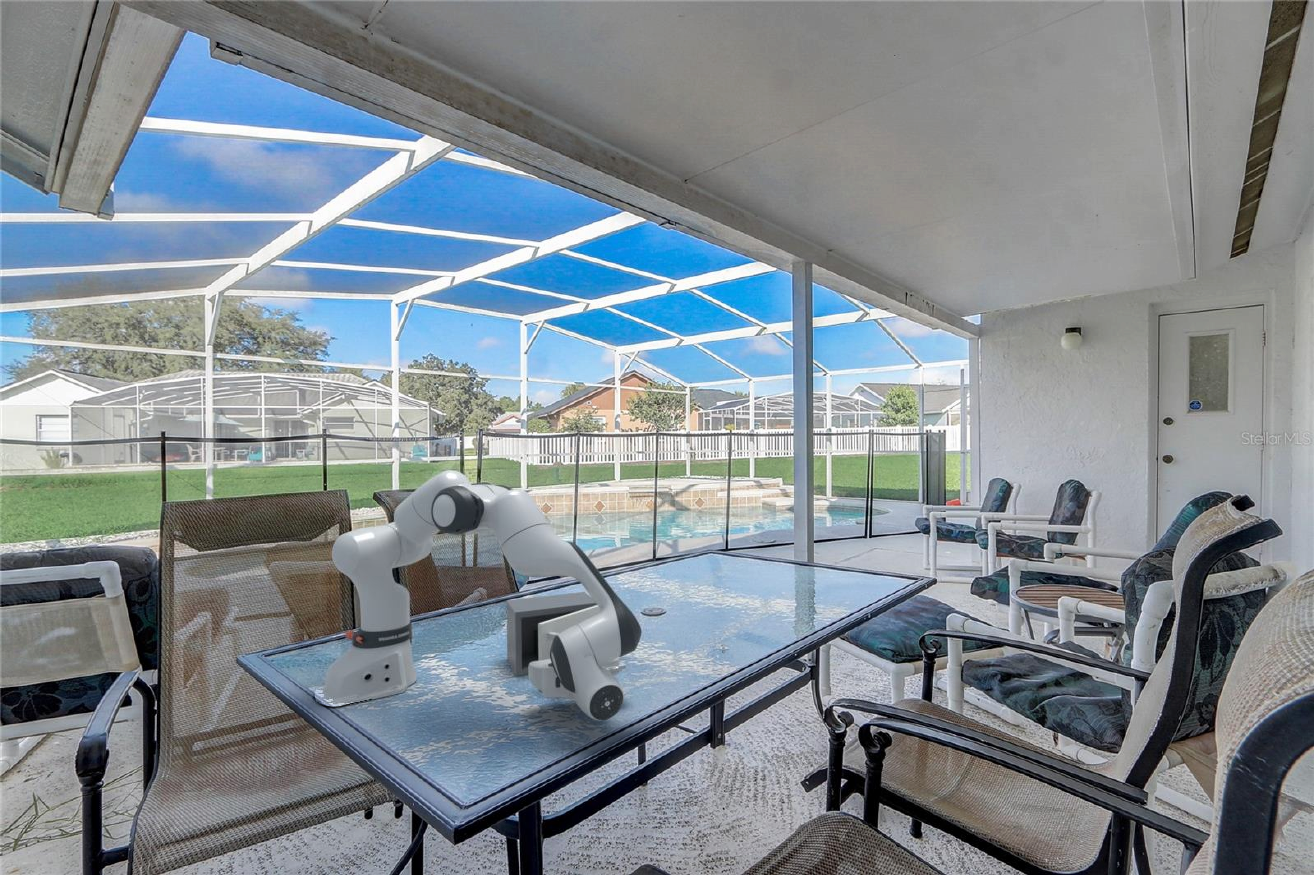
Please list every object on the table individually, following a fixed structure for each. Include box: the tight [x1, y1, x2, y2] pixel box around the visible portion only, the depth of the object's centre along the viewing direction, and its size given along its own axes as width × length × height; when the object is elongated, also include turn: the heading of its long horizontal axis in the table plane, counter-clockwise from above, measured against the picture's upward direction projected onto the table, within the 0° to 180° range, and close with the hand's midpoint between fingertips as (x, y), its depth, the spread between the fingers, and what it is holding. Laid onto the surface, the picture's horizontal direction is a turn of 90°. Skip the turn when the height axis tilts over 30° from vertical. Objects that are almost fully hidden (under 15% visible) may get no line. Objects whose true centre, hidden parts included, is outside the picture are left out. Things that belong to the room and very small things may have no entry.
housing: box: [506, 591, 597, 677], centre depth 159 cm, size 22×14×16 cm, turn 113°
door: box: [538, 605, 600, 660], centre depth 146 cm, size 22×7×15 cm, turn 143°
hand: (566, 656), depth 138 cm, fingers open, 3 cm apart
